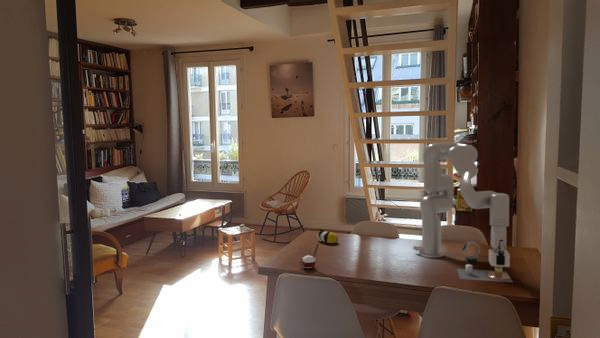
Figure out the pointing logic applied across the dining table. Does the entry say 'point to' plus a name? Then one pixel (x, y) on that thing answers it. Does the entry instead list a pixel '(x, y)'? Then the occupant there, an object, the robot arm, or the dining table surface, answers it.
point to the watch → (470, 258)
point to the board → (478, 274)
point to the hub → (498, 274)
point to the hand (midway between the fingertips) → (498, 261)
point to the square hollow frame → (493, 258)
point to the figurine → (327, 236)
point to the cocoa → (309, 260)
